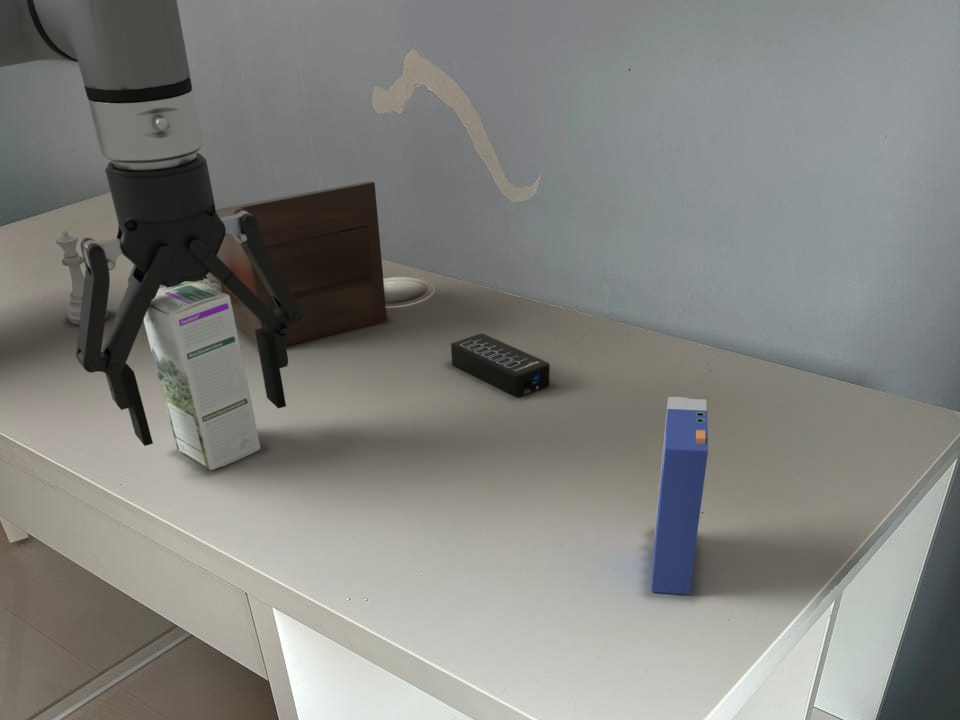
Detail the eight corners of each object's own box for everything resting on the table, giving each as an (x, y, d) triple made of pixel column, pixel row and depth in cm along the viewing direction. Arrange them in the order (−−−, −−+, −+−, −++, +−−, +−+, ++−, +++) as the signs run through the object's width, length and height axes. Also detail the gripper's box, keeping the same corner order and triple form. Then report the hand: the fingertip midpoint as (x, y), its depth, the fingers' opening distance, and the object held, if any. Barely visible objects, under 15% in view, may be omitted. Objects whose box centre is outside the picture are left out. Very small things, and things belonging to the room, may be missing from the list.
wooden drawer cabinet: (226, 318, 116) (200, 182, 106) (341, 291, 122) (326, 160, 112) (266, 351, 108) (241, 207, 98) (387, 320, 114) (374, 182, 104)
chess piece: (116, 314, 118) (93, 227, 111) (89, 327, 115) (63, 238, 108) (89, 309, 119) (64, 223, 113) (61, 321, 116) (35, 234, 110)
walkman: (690, 595, 71) (709, 445, 63) (650, 592, 71) (665, 443, 64) (690, 536, 77) (708, 393, 69) (654, 533, 77) (668, 391, 70)
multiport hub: (482, 352, 106) (481, 332, 104) (551, 385, 99) (551, 363, 97) (450, 364, 103) (449, 343, 102) (517, 398, 97) (517, 376, 95)
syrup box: (263, 449, 90) (234, 291, 81) (208, 473, 87) (171, 311, 78) (228, 430, 93) (195, 276, 84) (174, 453, 90) (134, 295, 81)
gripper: (-1, 195, 67) (88, 475, 81) (320, 141, 77) (351, 400, 90) (-22, 172, 72) (65, 440, 86) (281, 125, 82) (316, 372, 95)
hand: (212, 420), depth 88 cm, fingers open, 12 cm apart
